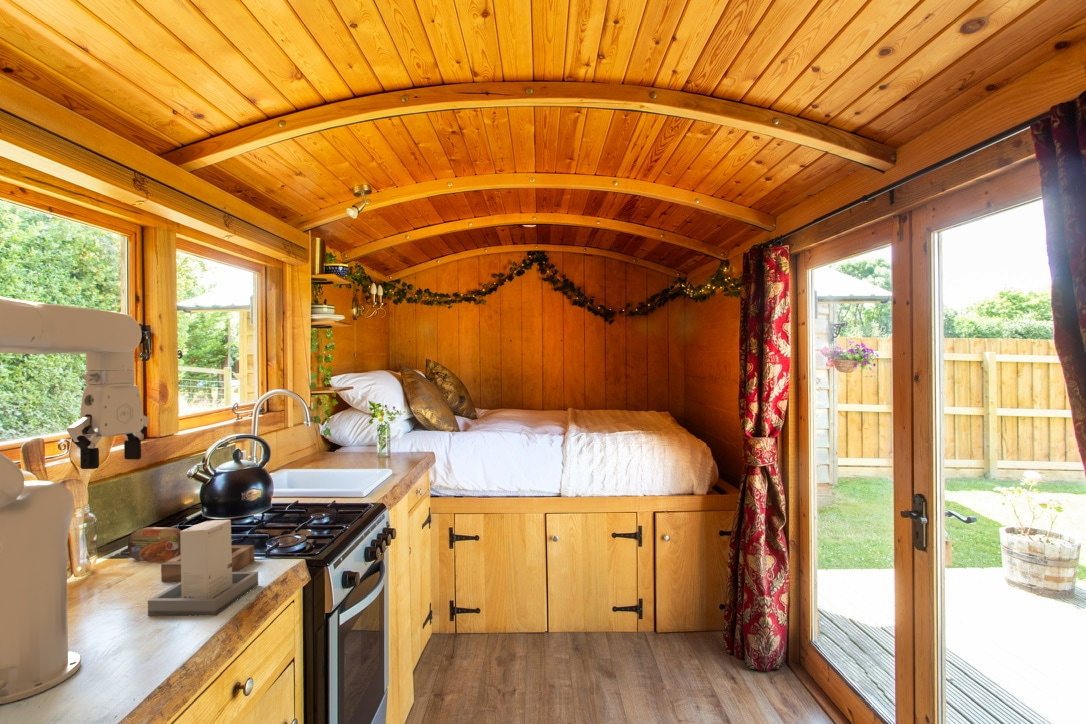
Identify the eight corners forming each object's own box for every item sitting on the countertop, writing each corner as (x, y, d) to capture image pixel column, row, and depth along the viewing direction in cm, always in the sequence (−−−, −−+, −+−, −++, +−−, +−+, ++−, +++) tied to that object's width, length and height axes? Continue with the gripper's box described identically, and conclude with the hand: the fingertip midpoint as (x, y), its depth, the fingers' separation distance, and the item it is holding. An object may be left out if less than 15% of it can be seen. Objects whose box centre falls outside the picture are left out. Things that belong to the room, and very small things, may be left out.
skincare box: (207, 603, 105) (206, 530, 105) (179, 603, 105) (177, 530, 105) (234, 585, 113) (232, 518, 113) (207, 585, 113) (206, 518, 113)
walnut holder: (221, 581, 118) (221, 564, 118) (161, 581, 118) (161, 564, 118) (254, 560, 130) (254, 545, 130) (199, 560, 131) (199, 545, 131)
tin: (126, 561, 131) (126, 528, 132) (138, 556, 135) (137, 524, 135) (178, 563, 129) (177, 530, 129) (188, 558, 132) (188, 526, 133)
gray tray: (215, 615, 101) (215, 600, 101) (148, 615, 102) (147, 600, 102) (258, 585, 115) (258, 571, 115) (198, 585, 116) (198, 571, 116)
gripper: (88, 380, 95) (89, 472, 95) (162, 377, 112) (163, 455, 112) (50, 381, 95) (51, 473, 95) (129, 378, 112) (131, 456, 112)
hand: (112, 463), depth 103 cm, fingers open, 9 cm apart
